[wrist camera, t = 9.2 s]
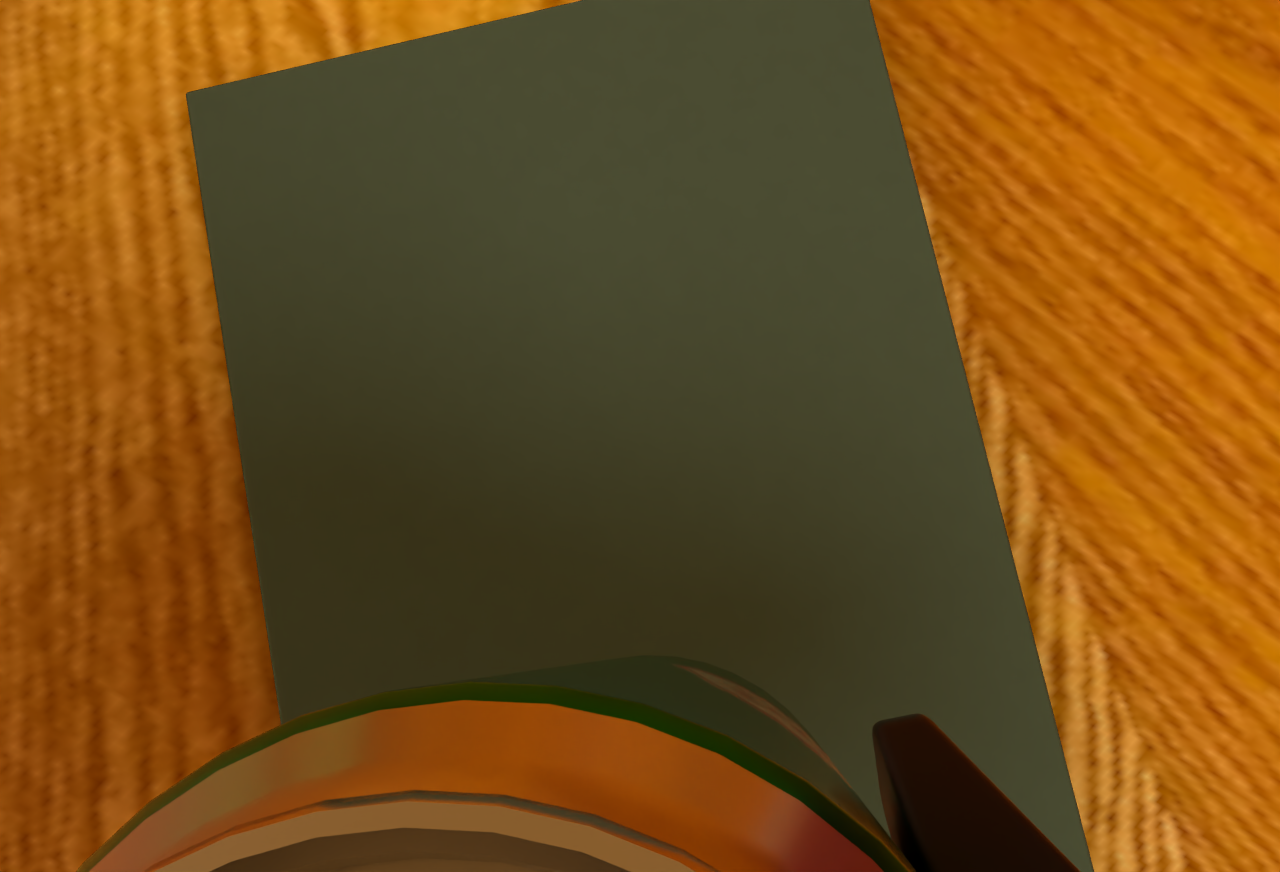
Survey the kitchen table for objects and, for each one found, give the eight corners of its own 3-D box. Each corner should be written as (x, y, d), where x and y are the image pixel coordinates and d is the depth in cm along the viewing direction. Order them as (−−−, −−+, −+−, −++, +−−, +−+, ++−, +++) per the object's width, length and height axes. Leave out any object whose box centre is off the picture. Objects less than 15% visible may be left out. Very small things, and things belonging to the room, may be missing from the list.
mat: (1167, 1183, 19) (1179, 1198, 19) (382, 1329, 20) (373, 1347, 20) (850, -50, 23) (853, -65, 23) (195, 102, 24) (184, 91, 23)
